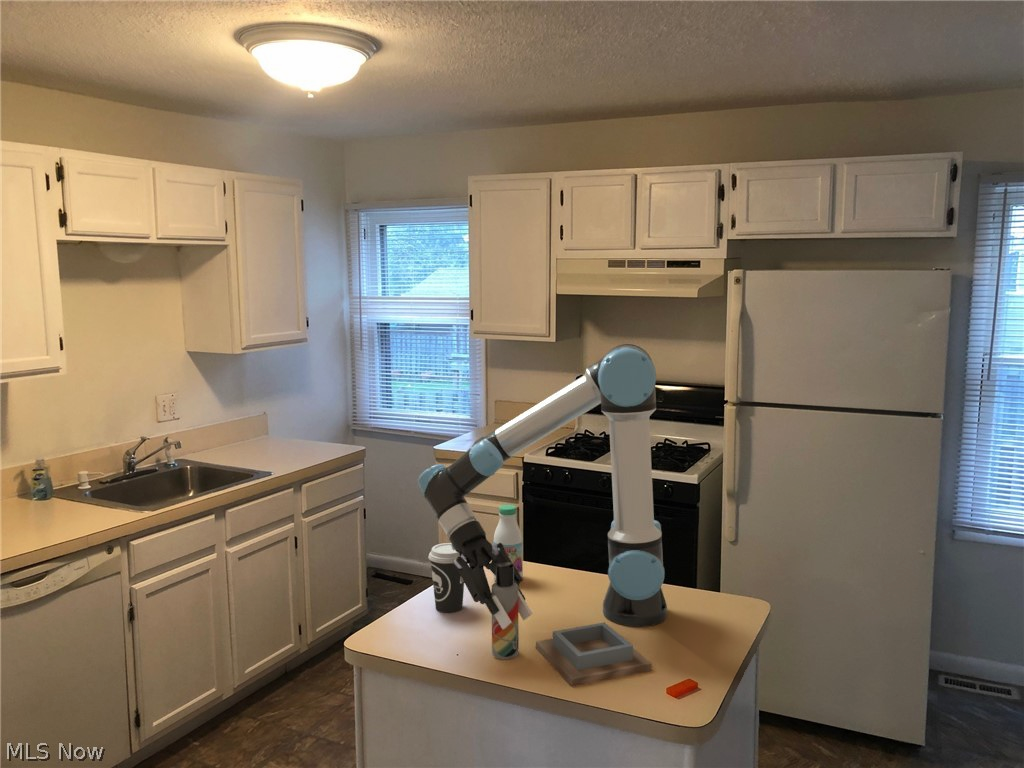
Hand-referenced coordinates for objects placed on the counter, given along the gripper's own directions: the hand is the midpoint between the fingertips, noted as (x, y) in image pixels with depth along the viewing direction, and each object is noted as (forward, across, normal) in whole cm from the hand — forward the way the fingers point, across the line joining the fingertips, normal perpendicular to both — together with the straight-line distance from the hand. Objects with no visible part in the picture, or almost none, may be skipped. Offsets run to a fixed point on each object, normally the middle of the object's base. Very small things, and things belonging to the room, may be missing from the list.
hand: (517, 621), depth 167 cm
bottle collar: (+13, -11, +3) cm, 17 cm away
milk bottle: (-17, -31, -30) cm, 46 cm away
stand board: (+14, -11, +2) cm, 18 cm away
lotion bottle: (+3, 0, -9) cm, 9 cm away
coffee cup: (-16, -8, -28) cm, 33 cm away
